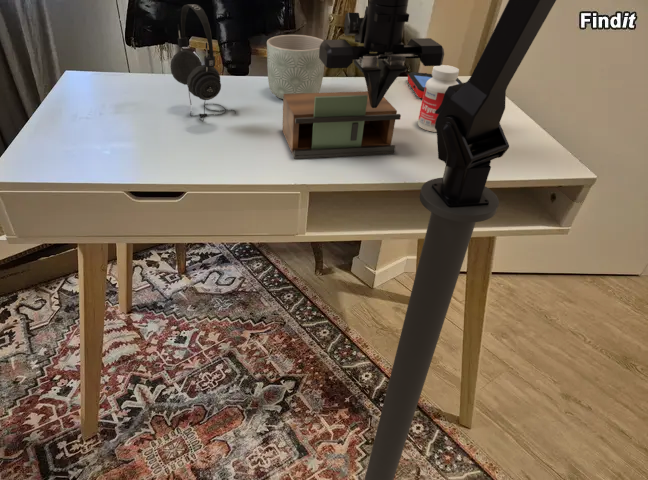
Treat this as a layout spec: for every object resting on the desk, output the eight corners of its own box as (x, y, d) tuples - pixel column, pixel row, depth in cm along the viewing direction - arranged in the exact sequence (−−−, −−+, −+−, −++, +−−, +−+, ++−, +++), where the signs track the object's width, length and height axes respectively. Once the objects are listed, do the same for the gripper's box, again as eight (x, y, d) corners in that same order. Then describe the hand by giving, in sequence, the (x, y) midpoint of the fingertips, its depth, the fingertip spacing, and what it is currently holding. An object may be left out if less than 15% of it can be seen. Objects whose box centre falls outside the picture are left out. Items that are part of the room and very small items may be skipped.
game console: (475, 102, 109) (478, 92, 108) (417, 101, 109) (419, 91, 108) (457, 81, 121) (459, 71, 119) (404, 80, 120) (406, 70, 119)
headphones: (253, 126, 96) (252, 10, 83) (198, 136, 91) (188, 16, 79) (221, 100, 106) (216, -6, 93) (170, 108, 101) (157, -2, 89)
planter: (280, 108, 103) (281, 52, 97) (257, 89, 112) (257, 36, 105) (332, 101, 108) (337, 47, 101) (307, 83, 116) (310, 32, 110)
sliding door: (361, 148, 87) (368, 96, 82) (312, 150, 86) (316, 98, 80) (360, 146, 88) (366, 94, 82) (311, 148, 86) (314, 96, 81)
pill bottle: (412, 128, 97) (424, 69, 90) (423, 118, 102) (434, 61, 95) (443, 135, 95) (458, 75, 88) (453, 125, 99) (467, 67, 92)
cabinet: (394, 154, 88) (401, 115, 84) (294, 159, 85) (296, 119, 81) (373, 127, 97) (378, 90, 93) (282, 130, 94) (283, 93, 90)
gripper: (426, -8, 81) (409, 89, 91) (314, -8, 78) (309, 92, 88) (456, 6, 73) (433, 112, 82) (331, 7, 70) (323, 116, 80)
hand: (373, 107), depth 83 cm, fingers closed
